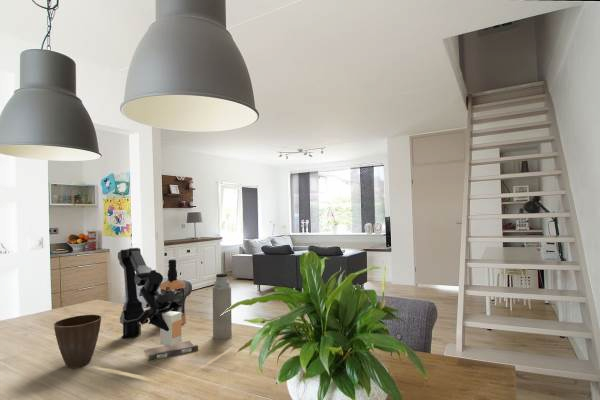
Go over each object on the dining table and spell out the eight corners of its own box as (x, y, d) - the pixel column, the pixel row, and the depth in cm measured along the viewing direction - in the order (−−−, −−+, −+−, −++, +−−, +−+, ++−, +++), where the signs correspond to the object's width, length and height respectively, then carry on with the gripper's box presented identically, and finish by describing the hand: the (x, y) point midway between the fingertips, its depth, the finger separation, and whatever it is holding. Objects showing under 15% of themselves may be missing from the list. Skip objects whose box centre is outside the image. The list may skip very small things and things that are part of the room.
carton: (171, 346, 136) (171, 316, 136) (160, 344, 138) (160, 314, 139) (182, 341, 141) (182, 312, 141) (170, 339, 143) (170, 310, 144)
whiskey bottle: (177, 319, 186) (177, 257, 187) (186, 323, 179) (186, 259, 180) (158, 324, 179) (157, 260, 180) (167, 328, 172) (166, 261, 173)
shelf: (149, 363, 130) (149, 356, 130) (143, 352, 141) (143, 345, 141) (198, 352, 140) (198, 345, 140) (189, 343, 151) (189, 336, 151)
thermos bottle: (220, 334, 161) (220, 272, 162) (235, 336, 158) (234, 273, 159) (209, 340, 154) (208, 275, 155) (224, 342, 150) (223, 276, 151)
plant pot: (50, 376, 121) (50, 329, 122) (56, 361, 134) (57, 318, 135) (100, 367, 128) (100, 322, 129) (101, 353, 141) (102, 312, 142)
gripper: (144, 289, 134) (167, 321, 129) (180, 280, 151) (201, 308, 146) (129, 308, 136) (150, 341, 132) (165, 297, 154) (185, 326, 149)
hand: (173, 328), depth 139 cm, fingers closed on carton, 5 cm apart
